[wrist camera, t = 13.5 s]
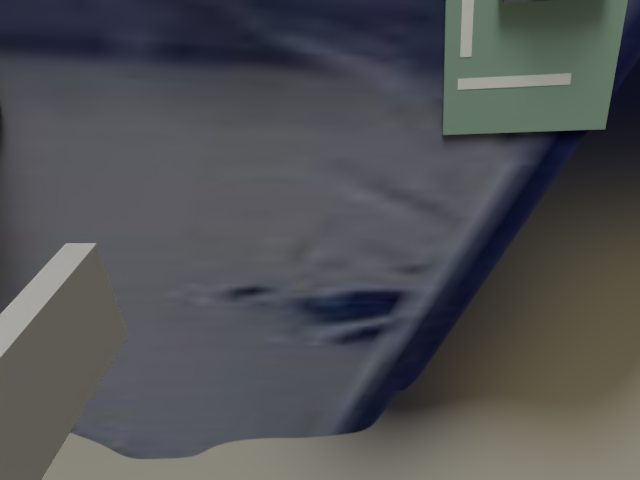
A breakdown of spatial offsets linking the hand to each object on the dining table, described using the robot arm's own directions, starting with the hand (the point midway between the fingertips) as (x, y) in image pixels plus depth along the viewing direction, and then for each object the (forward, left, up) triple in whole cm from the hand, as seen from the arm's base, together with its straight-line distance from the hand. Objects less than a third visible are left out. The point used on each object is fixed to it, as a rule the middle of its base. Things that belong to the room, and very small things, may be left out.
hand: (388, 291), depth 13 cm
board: (+9, 0, -35) cm, 36 cm away
